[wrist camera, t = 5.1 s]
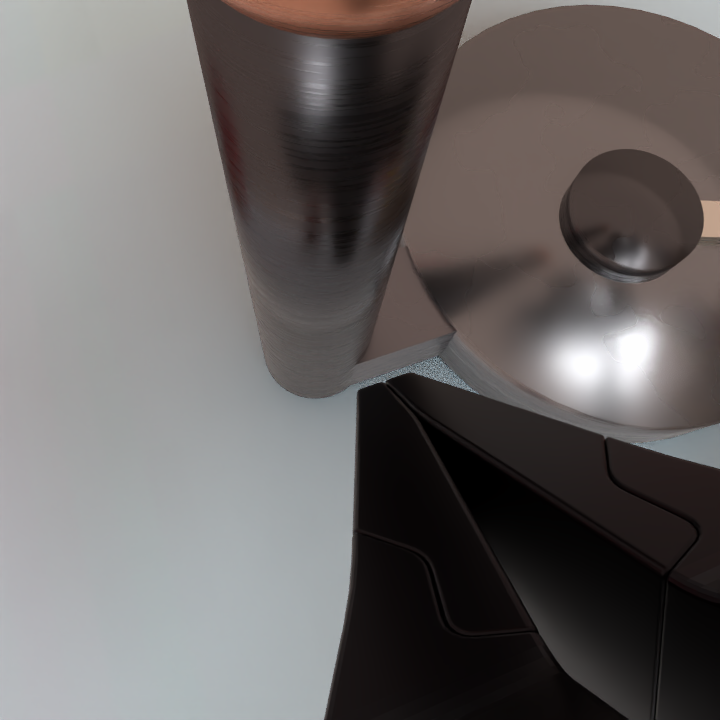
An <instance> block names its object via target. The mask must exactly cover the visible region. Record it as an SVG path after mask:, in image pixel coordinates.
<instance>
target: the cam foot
mask: <svg viewBox="0 0 720 720" xmlns="http://www.w3.org/2000/svg"><path fill="white" fill-rule="evenodd" d="M471 1H472V0H187V4H188V9H189V13H190V18H191V22H192V27H193V32H194V36H195V41H196V45H197V50H198V54H199V59H200V64H201V68H202V73H203V77H204V82H205V87H206V91H207V96H208V100H209V105H210V109H211V114H212V119H213V123H214V128H215V132H216V137H217V141H218V146H219V151H220V155H221V160H222V164H223V169H224V174H225V178H226V183H227V187H228V192H229V196H230V201H231V206H232V210H233V215H234V219H235V224H236V228H237V233H238V238H239V242H240V247H241V251H242V256H243V261H244V265H245V270H246V274H247V279H248V283H249V288H250V293H251V297H252V302H253V306H254V311H255V315H256V320H257V325H258V329H259V334H260V338H261V343H262V348H263V352H264V357H265V361H266V365H267V367H268V369H269V372H270V373H271V375H272V377H273V378H274V379H275V380H276V382H277V383H278V384H280V385H281V386H282V387H283V388H284V389H286V390H287V391H289V392H291V393H293V394H295V395H298V396H301V397H305V398H325V397H329V396H333V395H335V394H338V393H340V392H341V391H343V390H345V389H346V388H347V387H349V386H350V385H353V384H356V383H359V382H362V381H365V380H368V379H371V378H374V377H377V376H380V375H382V374H385V373H388V372H391V371H394V370H397V369H400V368H403V367H406V366H409V365H412V364H415V363H418V362H421V361H424V360H426V359H429V358H432V357H435V356H438V355H439V356H440V358H441V359H442V360H443V361H444V362H445V363H446V364H447V366H448V367H449V368H450V369H451V370H452V371H453V372H454V373H456V374H457V375H458V376H459V377H460V378H461V379H462V380H463V381H464V382H466V383H467V384H468V385H469V386H470V387H471V388H472V389H473V390H475V391H476V392H478V393H479V394H481V395H482V396H485V397H488V398H491V399H494V400H497V401H500V402H503V403H506V404H510V405H513V406H516V407H519V408H522V409H525V410H528V411H531V412H534V413H537V414H540V415H543V416H546V417H549V418H552V419H555V420H559V421H562V422H565V423H568V424H571V425H574V426H577V427H580V428H583V429H586V430H589V431H592V432H595V433H598V434H601V435H603V436H604V437H605V439H606V438H607V437H611V438H614V439H617V440H620V441H623V442H627V443H644V442H650V441H657V440H663V439H669V438H673V437H676V436H680V435H683V434H686V433H689V432H692V431H696V430H699V429H702V428H705V427H708V426H711V425H715V424H718V423H720V39H719V38H717V37H715V36H713V35H711V34H708V33H706V32H704V31H702V30H700V29H698V28H696V27H694V26H691V25H688V24H685V23H683V22H680V21H677V20H674V19H671V18H669V17H665V16H661V15H657V14H654V13H650V12H646V11H642V10H636V9H629V8H623V7H616V6H600V5H577V6H561V7H555V8H549V9H544V10H538V11H533V12H530V13H527V14H523V15H520V16H517V17H514V18H510V19H508V20H506V21H504V22H501V23H499V24H497V25H495V26H493V27H490V28H488V29H486V30H485V31H483V32H481V33H480V34H478V35H477V36H475V37H473V38H472V39H470V40H469V41H467V42H466V43H464V44H463V45H462V46H461V47H460V48H458V45H459V41H460V38H461V35H462V31H463V28H464V25H465V21H466V18H467V14H468V11H469V8H470V4H471ZM457 48H458V49H457Z"/></svg>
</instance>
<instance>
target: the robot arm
mask: <svg viewBox="0 0 720 720" xmlns="http://www.w3.org/2000/svg"><path fill="white" fill-rule="evenodd" d="M324 720H720V469H717V468H714V467H710V466H706V465H702V464H698V463H694V462H691V461H687V460H683V459H679V458H675V457H672V456H669V455H665V454H662V453H659V452H656V451H652V450H649V449H646V448H642V447H639V446H636V445H633V444H630V443H627V442H623V441H620V440H617V439H614V438H611V437H607V438H606V439H605V437H604V436H603V435H601V434H598V433H595V432H592V431H589V430H586V429H583V428H580V427H577V426H574V425H571V424H568V423H565V422H562V421H559V420H555V419H552V418H549V417H546V416H543V415H540V414H537V413H534V412H531V411H528V410H525V409H522V408H519V407H516V406H513V405H510V404H506V403H503V402H500V401H497V400H494V399H491V398H488V397H485V396H482V395H479V394H476V393H473V392H470V391H467V390H464V389H460V388H457V387H454V386H451V385H448V384H445V383H442V382H439V381H436V380H433V379H430V378H427V377H424V376H421V375H418V374H415V373H406V374H403V375H400V376H397V377H394V378H391V379H389V380H387V381H386V383H385V384H384V383H382V382H381V383H377V384H374V385H371V386H368V387H365V388H362V389H360V390H359V391H358V392H357V412H356V445H355V478H354V511H353V537H352V560H351V573H350V585H349V594H348V600H347V606H346V612H345V619H344V625H343V630H342V635H341V640H340V645H339V649H338V654H337V659H336V664H335V669H334V674H333V679H332V683H331V688H330V693H329V698H328V703H327V708H326V713H325V717H324Z"/></svg>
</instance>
